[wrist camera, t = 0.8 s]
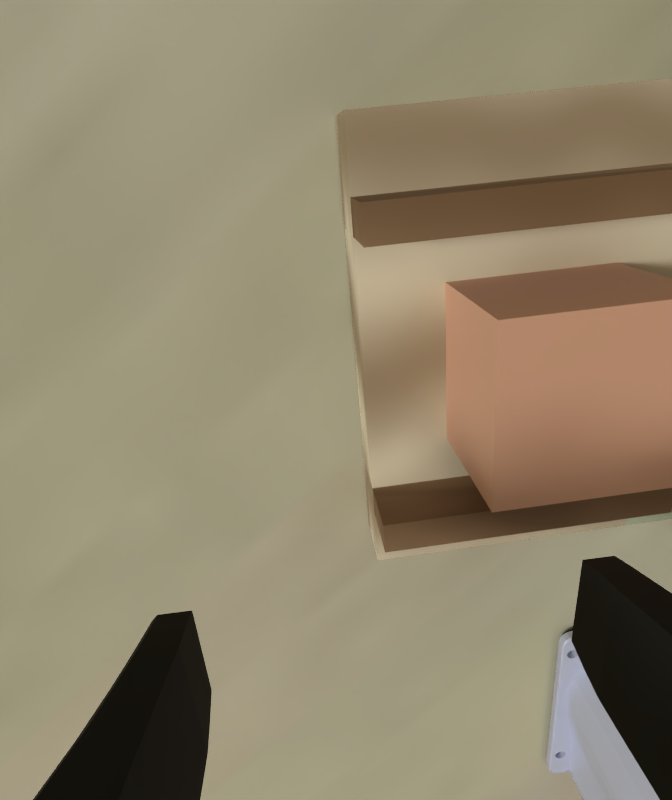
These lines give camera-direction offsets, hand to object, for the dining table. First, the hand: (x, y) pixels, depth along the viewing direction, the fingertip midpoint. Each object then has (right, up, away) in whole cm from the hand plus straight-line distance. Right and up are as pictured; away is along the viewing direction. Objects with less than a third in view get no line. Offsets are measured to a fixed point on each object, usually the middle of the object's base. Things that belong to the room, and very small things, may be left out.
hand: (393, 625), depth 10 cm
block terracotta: (+5, +6, +6) cm, 10 cm away
